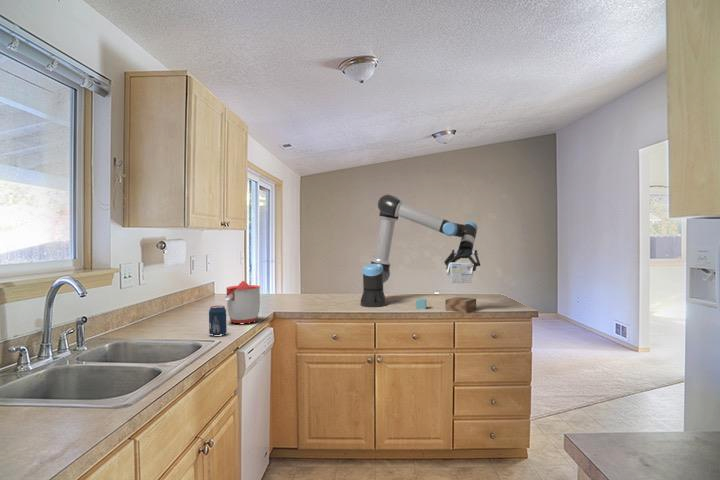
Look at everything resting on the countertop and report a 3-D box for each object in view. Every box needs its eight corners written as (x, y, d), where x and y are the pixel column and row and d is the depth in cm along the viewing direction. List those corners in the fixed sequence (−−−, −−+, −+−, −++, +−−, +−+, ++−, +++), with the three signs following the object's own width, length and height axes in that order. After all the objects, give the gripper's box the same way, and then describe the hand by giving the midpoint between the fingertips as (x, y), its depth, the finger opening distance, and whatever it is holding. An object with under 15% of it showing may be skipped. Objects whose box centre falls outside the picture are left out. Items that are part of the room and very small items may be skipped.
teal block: (416, 309, 240) (416, 300, 240) (417, 307, 245) (417, 298, 245) (425, 309, 239) (425, 300, 239) (426, 307, 244) (426, 298, 244)
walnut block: (445, 310, 235) (445, 299, 235) (456, 307, 244) (456, 296, 244) (466, 313, 227) (466, 301, 227) (476, 309, 236) (476, 298, 236)
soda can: (223, 332, 190) (222, 304, 189) (229, 335, 184) (228, 306, 184) (207, 334, 185) (206, 306, 185) (212, 337, 180) (211, 308, 180)
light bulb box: (469, 281, 238) (469, 261, 238) (471, 283, 232) (471, 262, 231) (449, 281, 239) (449, 262, 239) (451, 283, 232) (451, 262, 232)
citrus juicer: (217, 323, 208) (216, 281, 208) (248, 317, 221) (247, 278, 221) (236, 328, 198) (235, 283, 198) (267, 321, 211) (266, 280, 211)
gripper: (489, 249, 243) (483, 279, 230) (447, 249, 254) (439, 278, 241) (487, 240, 238) (481, 270, 225) (444, 240, 250) (435, 269, 236)
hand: (459, 274), depth 233 cm, fingers closed on light bulb box, 12 cm apart
